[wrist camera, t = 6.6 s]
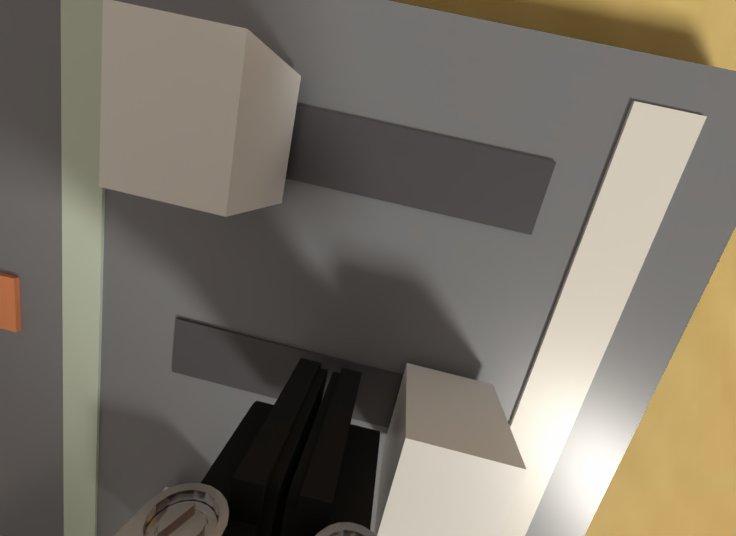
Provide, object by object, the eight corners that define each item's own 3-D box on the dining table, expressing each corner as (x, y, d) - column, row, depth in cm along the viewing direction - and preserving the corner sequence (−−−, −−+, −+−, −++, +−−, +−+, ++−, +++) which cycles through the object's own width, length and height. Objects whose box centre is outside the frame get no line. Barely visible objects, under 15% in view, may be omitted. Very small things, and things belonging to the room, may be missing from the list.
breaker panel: (728, 102, 10) (1075, 26, 5) (498, 618, 15) (545, 849, 10) (-31, -57, 11) (-424, -260, 6) (2, 479, 16) (-188, 622, 11)
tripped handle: (493, 384, 10) (526, 469, 7) (462, 472, 11) (480, 580, 8) (407, 362, 10) (405, 438, 7) (382, 451, 11) (373, 550, 8)
